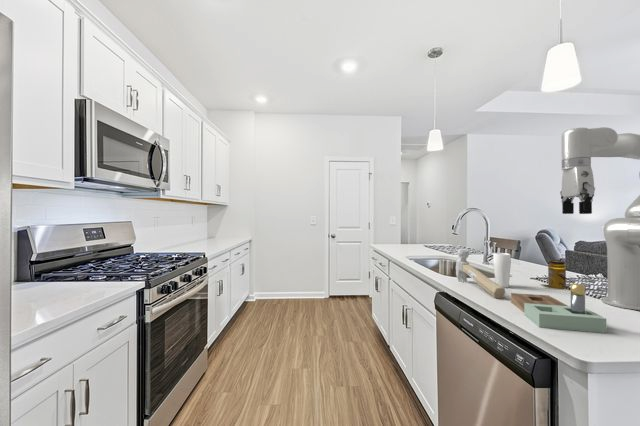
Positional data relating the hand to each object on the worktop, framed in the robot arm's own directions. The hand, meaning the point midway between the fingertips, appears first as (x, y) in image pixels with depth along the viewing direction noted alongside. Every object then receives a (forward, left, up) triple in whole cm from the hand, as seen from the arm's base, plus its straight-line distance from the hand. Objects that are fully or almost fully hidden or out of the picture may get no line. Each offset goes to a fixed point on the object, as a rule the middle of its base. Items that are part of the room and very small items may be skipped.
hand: (576, 213), depth 97 cm
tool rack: (+12, +16, -33) cm, 39 cm away
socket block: (+13, +3, -33) cm, 36 cm away
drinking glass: (+14, -28, -34) cm, 46 cm away
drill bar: (+8, +16, -33) cm, 38 cm away
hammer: (+26, -21, -34) cm, 47 cm away
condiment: (-8, -32, -34) cm, 47 cm away
